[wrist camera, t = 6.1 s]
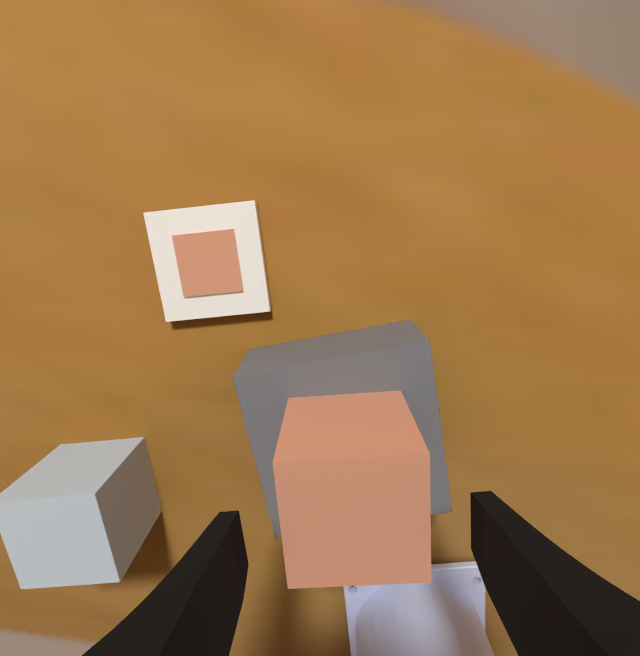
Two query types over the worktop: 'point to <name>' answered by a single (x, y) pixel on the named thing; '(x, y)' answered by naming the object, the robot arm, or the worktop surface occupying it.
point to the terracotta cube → (353, 492)
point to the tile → (209, 260)
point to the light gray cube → (80, 514)
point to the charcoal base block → (341, 391)
